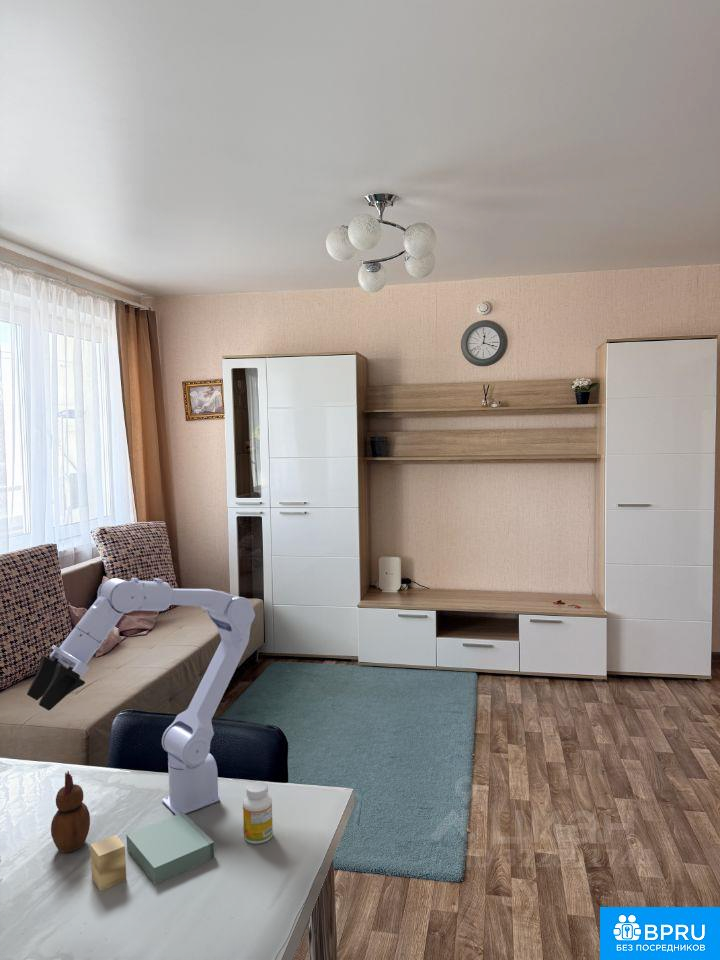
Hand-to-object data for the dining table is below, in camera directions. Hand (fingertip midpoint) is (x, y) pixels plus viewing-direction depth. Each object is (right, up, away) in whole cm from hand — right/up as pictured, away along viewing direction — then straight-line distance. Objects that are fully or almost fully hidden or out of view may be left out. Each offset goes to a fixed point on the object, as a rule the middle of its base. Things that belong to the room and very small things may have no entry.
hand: (37, 702), depth 120 cm
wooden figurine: (+3, -29, +7) cm, 30 cm away
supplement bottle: (+38, -28, +9) cm, 48 cm away
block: (+14, -29, -3) cm, 33 cm away
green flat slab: (+22, -29, +4) cm, 37 cm away
